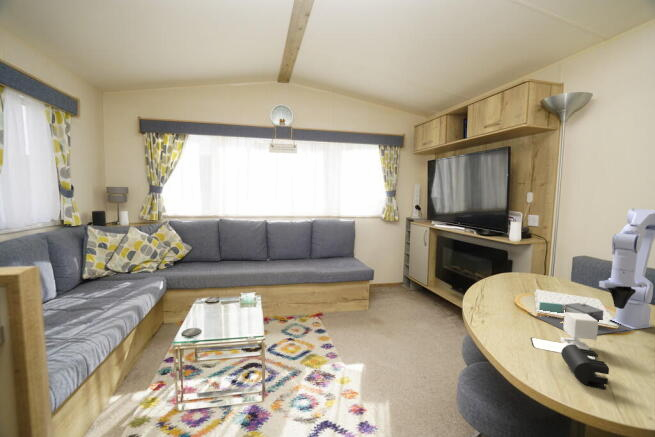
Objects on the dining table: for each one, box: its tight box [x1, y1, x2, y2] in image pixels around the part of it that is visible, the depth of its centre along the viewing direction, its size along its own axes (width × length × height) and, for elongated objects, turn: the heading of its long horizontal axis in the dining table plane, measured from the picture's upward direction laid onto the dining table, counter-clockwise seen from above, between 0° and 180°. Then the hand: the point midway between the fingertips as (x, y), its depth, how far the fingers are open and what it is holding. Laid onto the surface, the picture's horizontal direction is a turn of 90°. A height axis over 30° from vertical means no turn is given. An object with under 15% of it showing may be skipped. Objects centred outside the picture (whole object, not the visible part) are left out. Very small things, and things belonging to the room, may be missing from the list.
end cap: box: [560, 344, 610, 391], centre depth 82 cm, size 10×7×7 cm
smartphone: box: [530, 337, 598, 360], centre depth 97 cm, size 8×1×16 cm
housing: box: [564, 302, 604, 322], centre depth 116 cm, size 8×9×6 cm
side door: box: [538, 301, 565, 313], centre depth 121 cm, size 2×8×5 cm, turn 74°
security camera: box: [560, 312, 598, 350], centre depth 98 cm, size 6×7×10 cm
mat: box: [527, 312, 632, 336], centre depth 116 cm, size 24×20×1 cm
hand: (619, 307), depth 105 cm, fingers closed
